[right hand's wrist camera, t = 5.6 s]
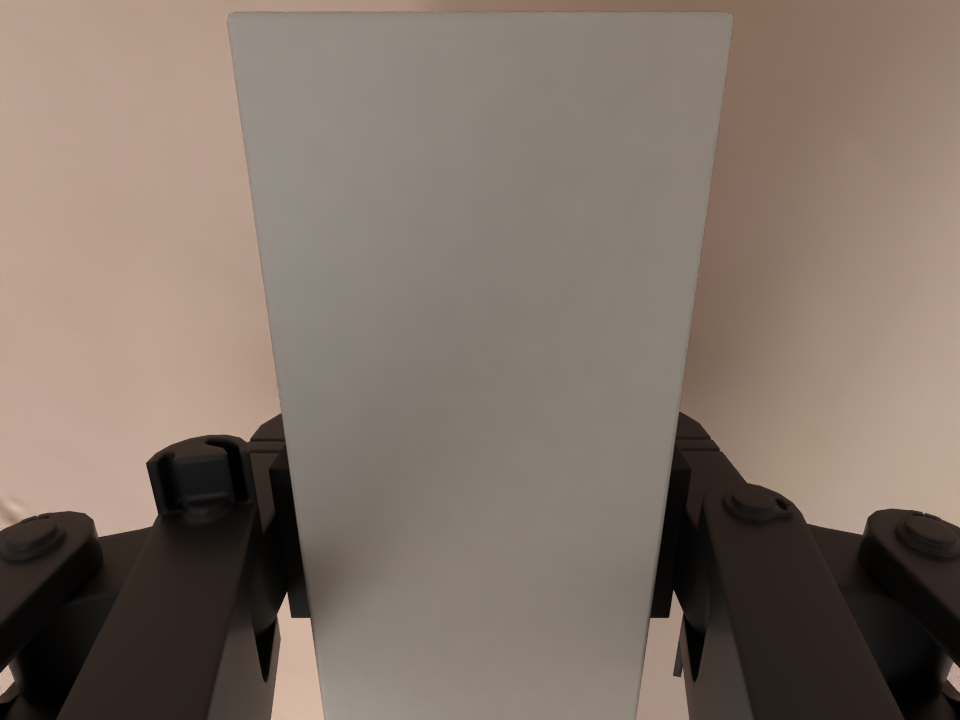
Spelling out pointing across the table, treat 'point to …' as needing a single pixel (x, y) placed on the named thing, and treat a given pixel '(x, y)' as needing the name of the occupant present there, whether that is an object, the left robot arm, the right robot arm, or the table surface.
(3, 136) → the table surface
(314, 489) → the beam
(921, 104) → the table surface
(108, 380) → the table surface
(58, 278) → the table surface
